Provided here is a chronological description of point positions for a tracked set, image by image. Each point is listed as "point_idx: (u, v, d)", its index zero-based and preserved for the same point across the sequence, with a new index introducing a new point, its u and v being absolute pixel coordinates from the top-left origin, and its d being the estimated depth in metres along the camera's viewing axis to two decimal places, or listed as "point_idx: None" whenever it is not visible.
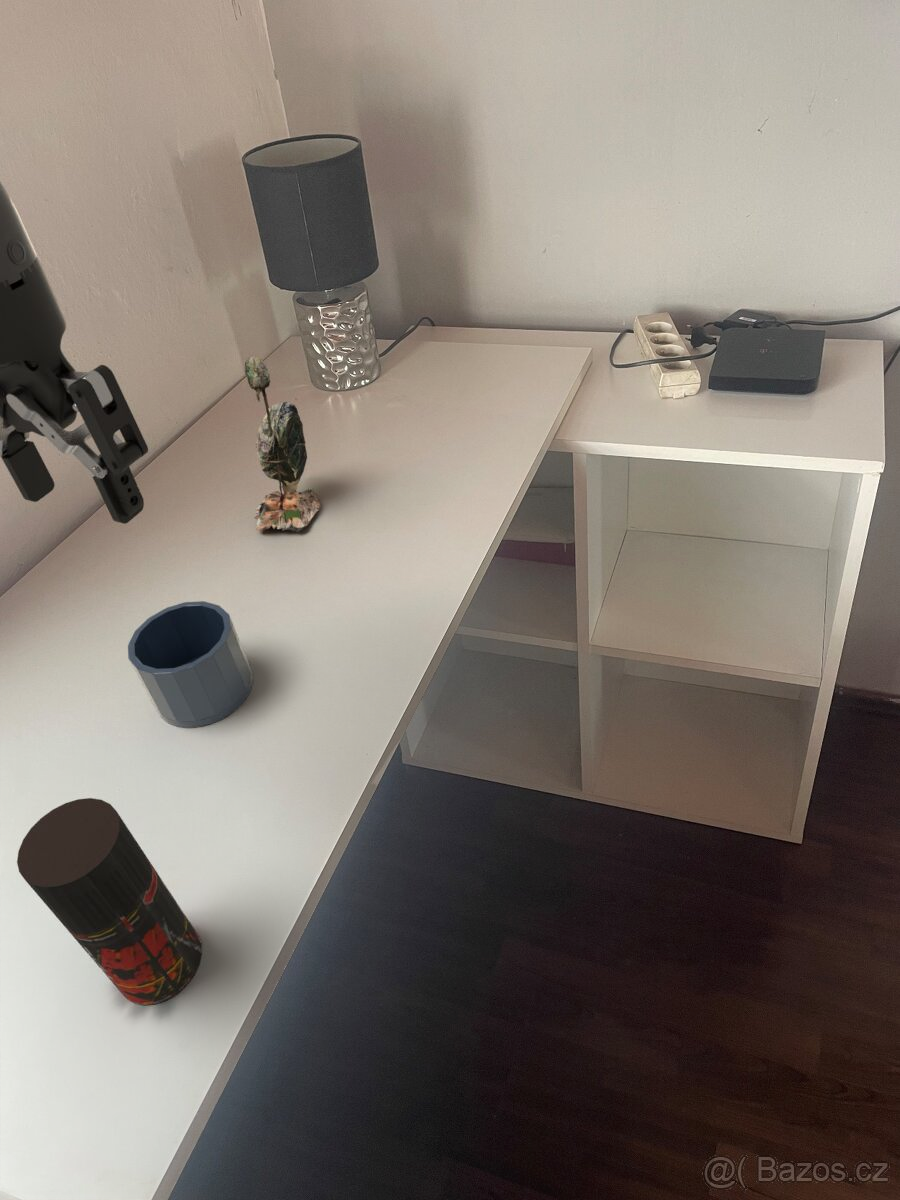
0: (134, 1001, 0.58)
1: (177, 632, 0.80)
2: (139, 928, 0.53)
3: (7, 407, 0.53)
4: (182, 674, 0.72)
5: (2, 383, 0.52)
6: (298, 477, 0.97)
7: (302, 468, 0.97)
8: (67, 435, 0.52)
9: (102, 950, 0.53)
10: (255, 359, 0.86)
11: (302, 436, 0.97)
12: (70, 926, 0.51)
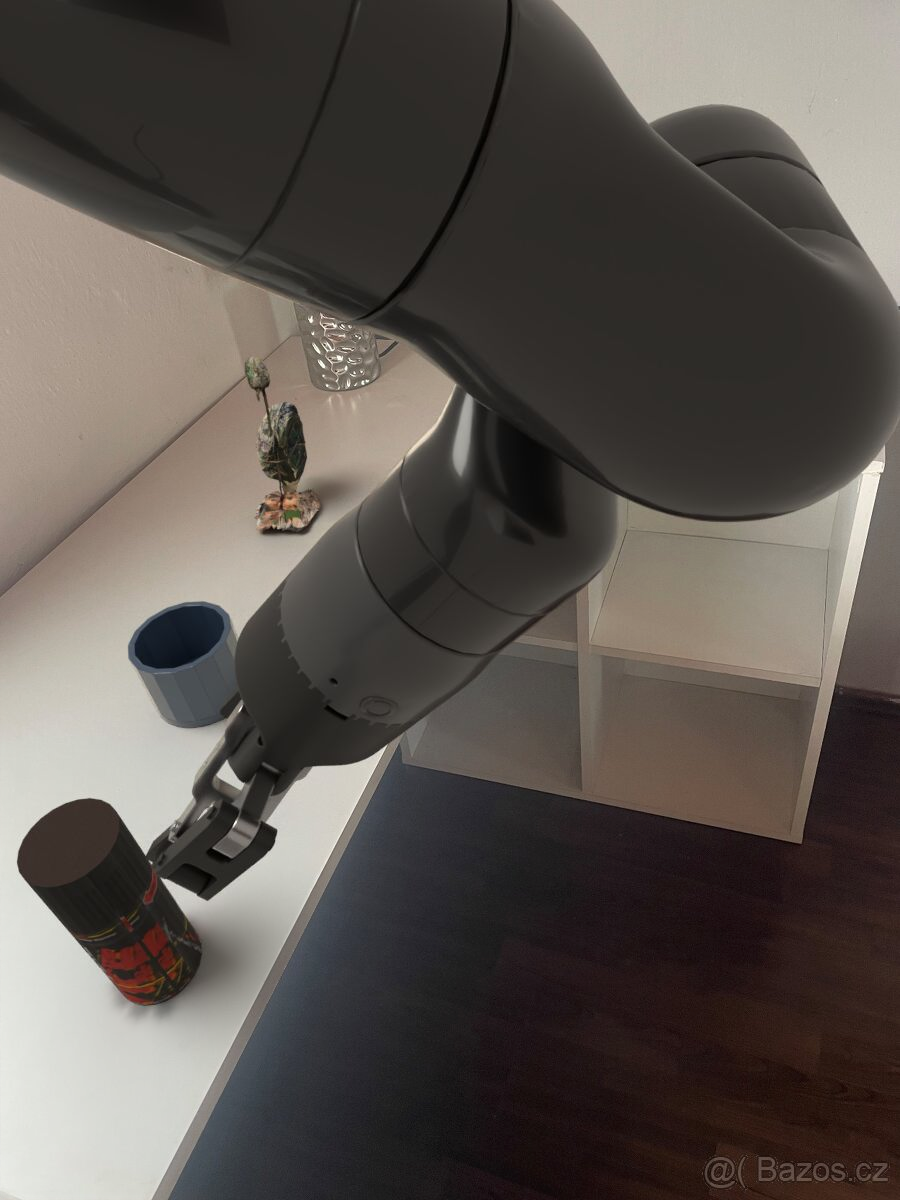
0: (134, 1001, 0.58)
1: (177, 632, 0.80)
2: (139, 929, 0.53)
3: None
4: (182, 674, 0.72)
5: None
6: (298, 477, 0.97)
7: (302, 468, 0.97)
8: (206, 785, 0.36)
9: (102, 950, 0.53)
10: (255, 359, 0.86)
11: (302, 436, 0.97)
12: (70, 926, 0.51)
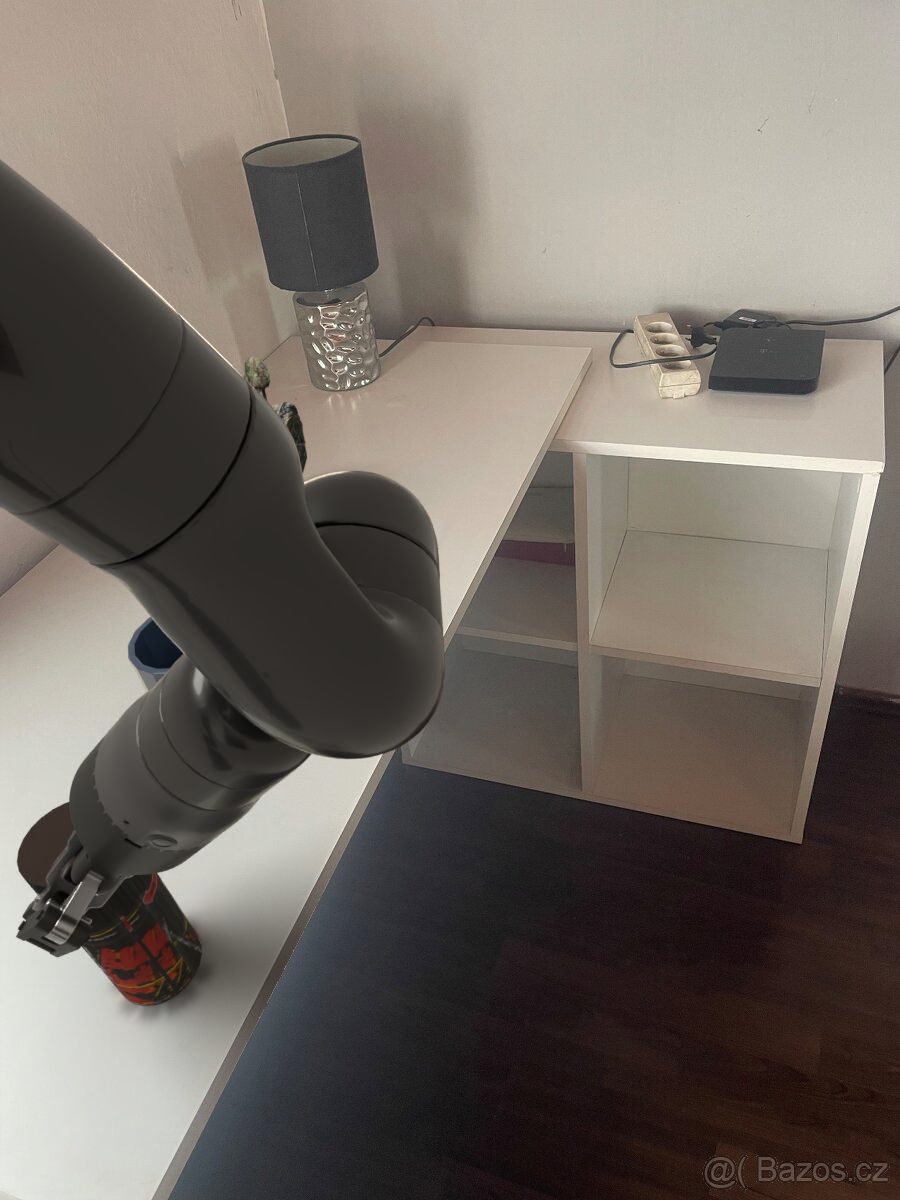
0: (134, 1001, 0.58)
1: None
2: (139, 928, 0.53)
3: None
4: None
5: None
6: None
7: (302, 468, 0.97)
8: (56, 876, 0.46)
9: (102, 950, 0.53)
10: (255, 359, 0.86)
11: (302, 436, 0.97)
12: None
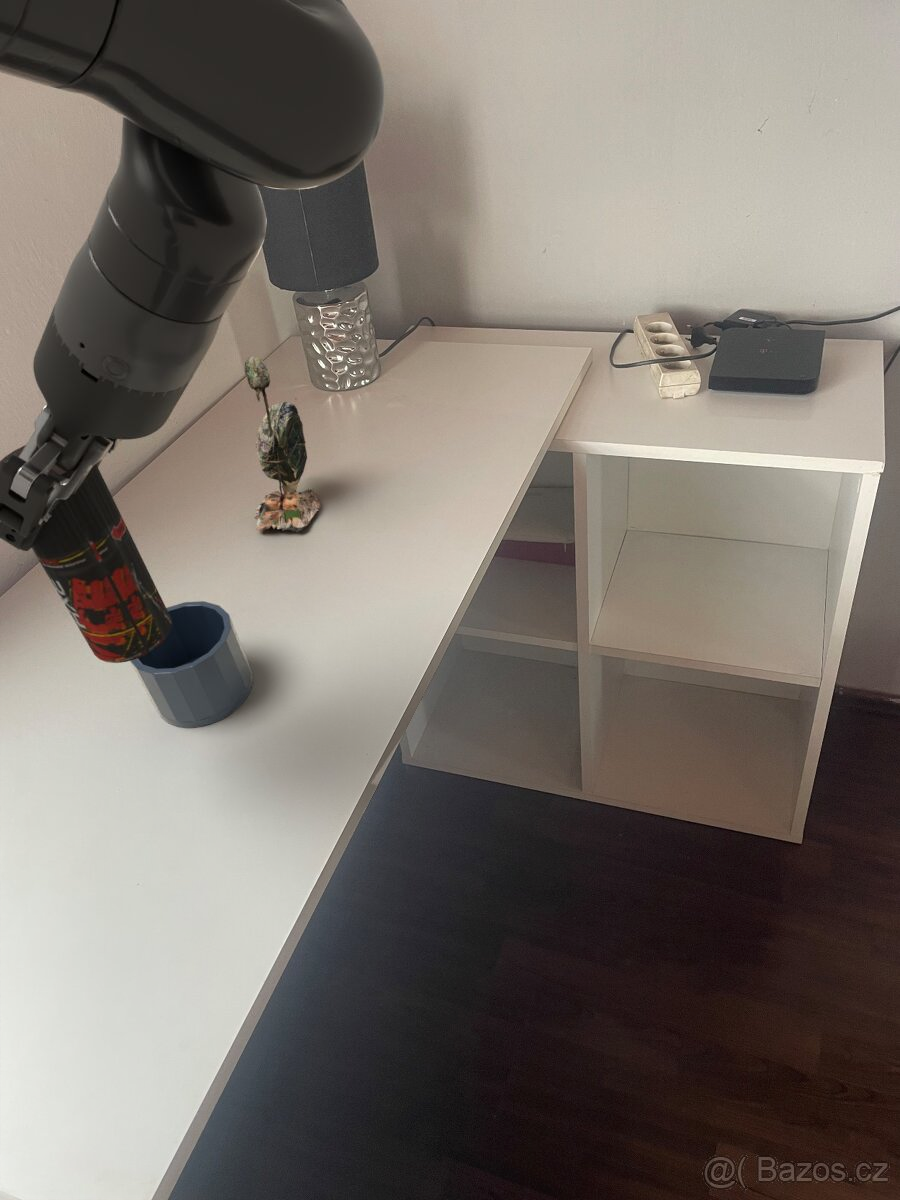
0: (107, 658, 0.61)
1: (177, 632, 0.80)
2: (108, 562, 0.57)
3: None
4: (182, 674, 0.72)
5: None
6: (298, 477, 0.97)
7: (302, 468, 0.97)
8: None
9: (73, 581, 0.56)
10: (255, 359, 0.86)
11: (302, 436, 0.97)
12: (42, 548, 0.55)
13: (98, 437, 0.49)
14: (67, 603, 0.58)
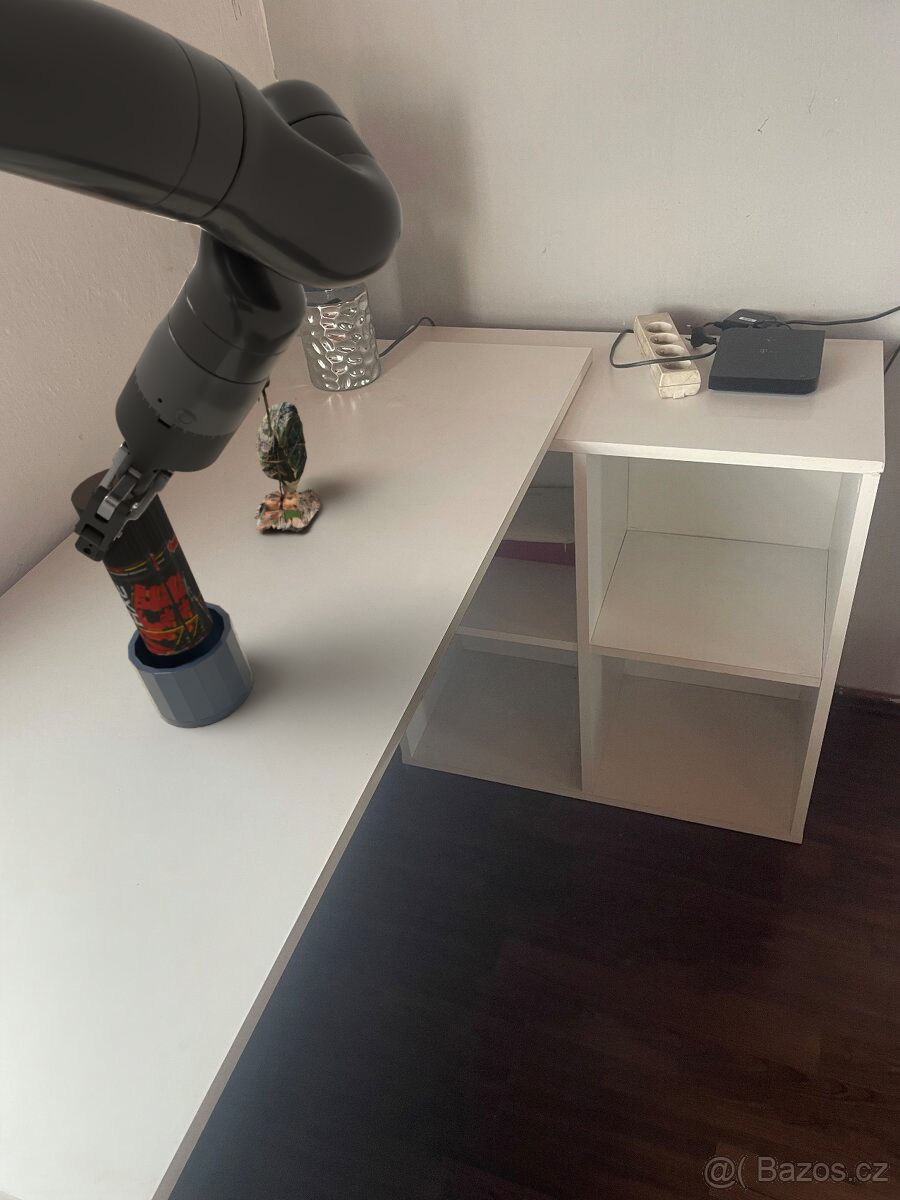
0: (159, 652, 0.73)
1: None
2: (164, 570, 0.68)
3: None
4: (182, 674, 0.72)
5: None
6: (298, 477, 0.97)
7: (302, 468, 0.97)
8: None
9: (135, 586, 0.68)
10: None
11: (302, 436, 0.97)
12: (111, 559, 0.66)
13: (163, 469, 0.61)
14: (128, 605, 0.70)
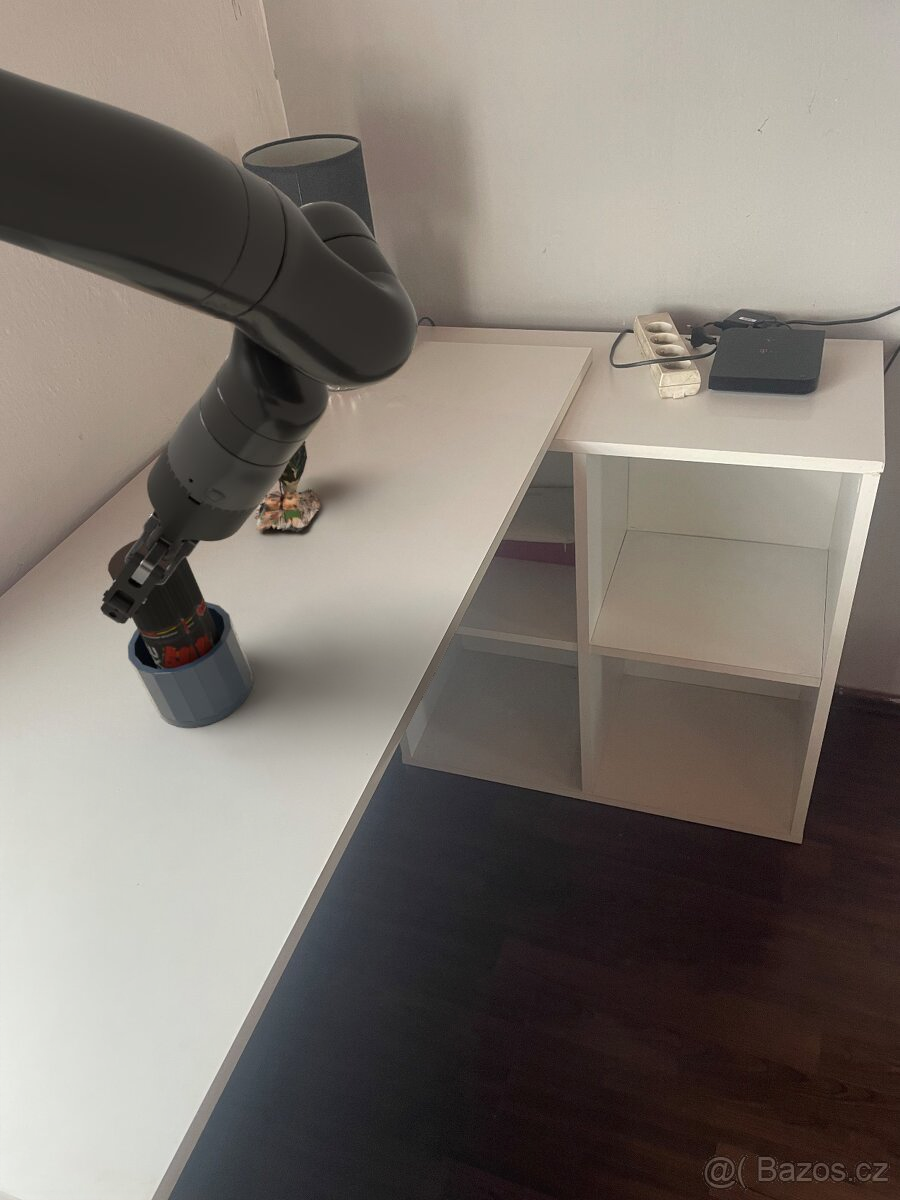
0: None
1: None
2: (193, 633, 0.72)
3: None
4: (182, 674, 0.72)
5: None
6: (298, 477, 0.97)
7: (302, 468, 0.97)
8: None
9: (166, 648, 0.72)
10: None
11: None
12: (144, 623, 0.70)
13: None
14: (158, 663, 0.74)
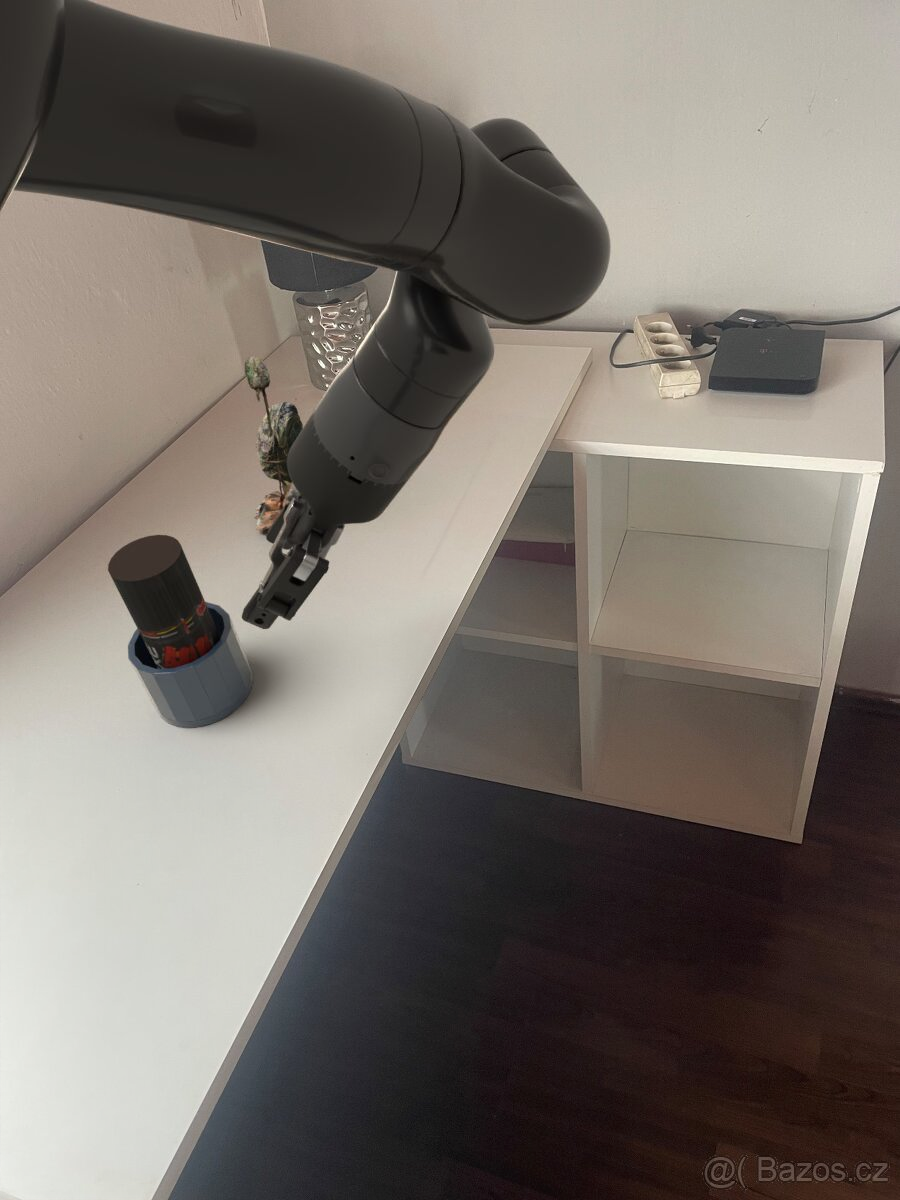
0: None
1: None
2: (193, 633, 0.72)
3: (300, 499, 0.61)
4: (182, 674, 0.72)
5: None
6: None
7: None
8: (278, 553, 0.59)
9: (166, 648, 0.72)
10: (255, 359, 0.86)
11: None
12: (144, 623, 0.70)
13: None
14: (158, 663, 0.74)
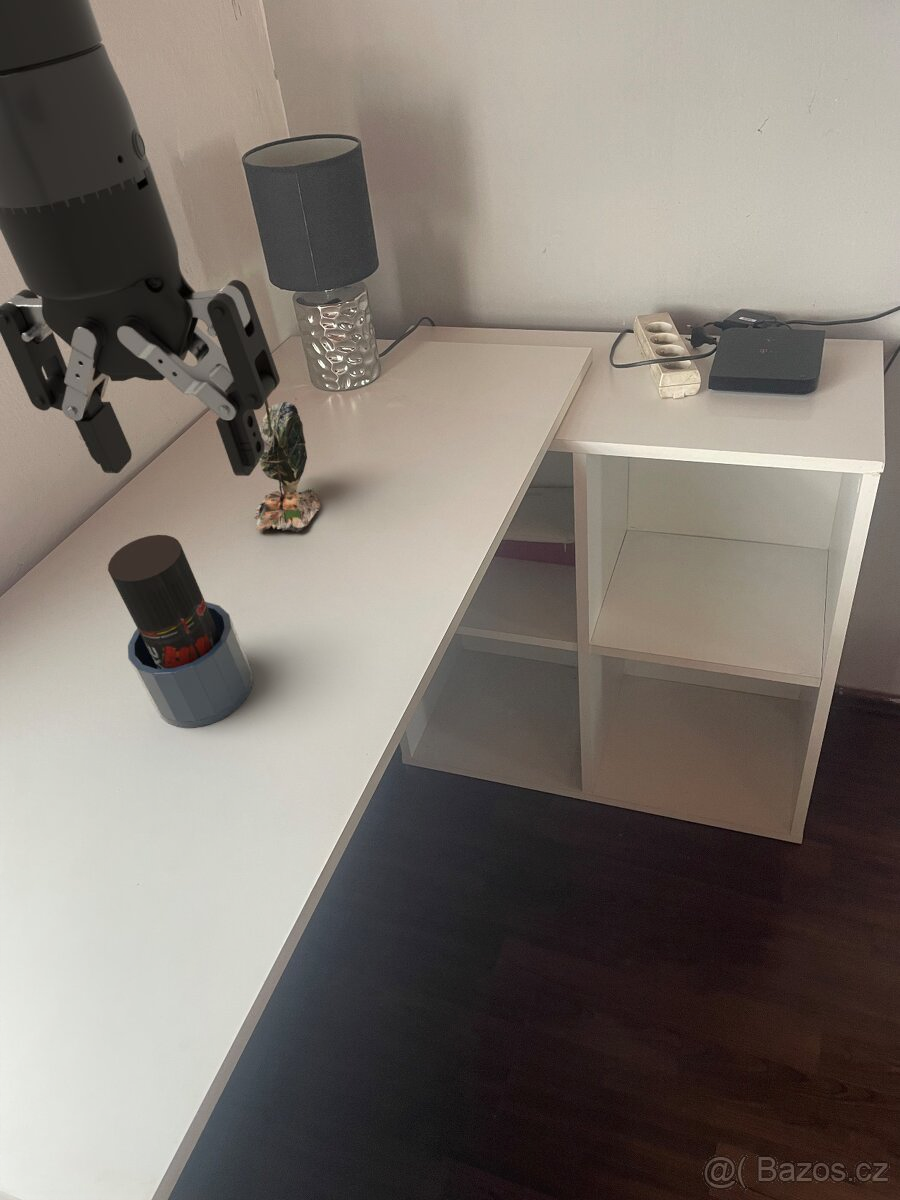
0: None
1: None
2: (193, 633, 0.72)
3: (104, 350, 0.45)
4: (182, 674, 0.72)
5: (104, 317, 0.44)
6: (298, 477, 0.97)
7: (302, 468, 0.97)
8: (192, 370, 0.44)
9: (166, 648, 0.72)
10: None
11: (302, 436, 0.97)
12: (144, 623, 0.70)
13: None
14: (158, 663, 0.74)
